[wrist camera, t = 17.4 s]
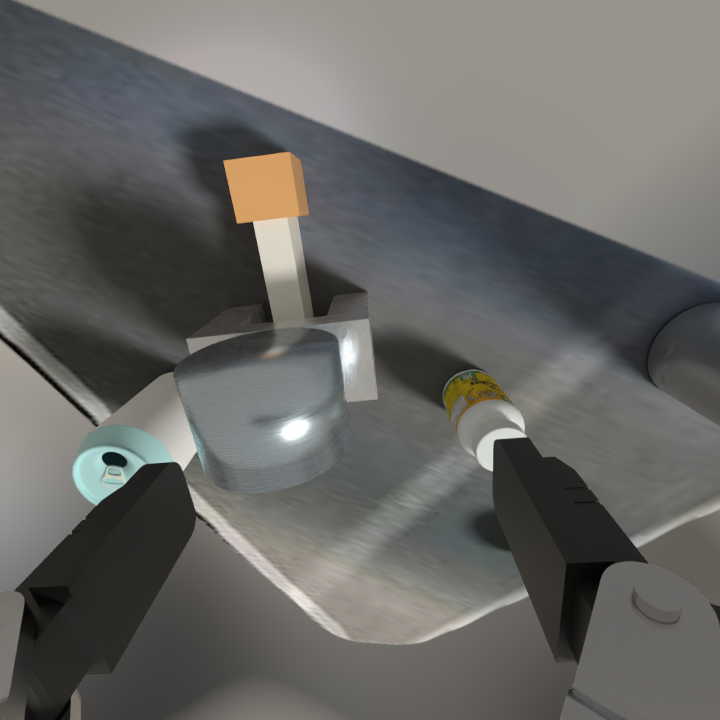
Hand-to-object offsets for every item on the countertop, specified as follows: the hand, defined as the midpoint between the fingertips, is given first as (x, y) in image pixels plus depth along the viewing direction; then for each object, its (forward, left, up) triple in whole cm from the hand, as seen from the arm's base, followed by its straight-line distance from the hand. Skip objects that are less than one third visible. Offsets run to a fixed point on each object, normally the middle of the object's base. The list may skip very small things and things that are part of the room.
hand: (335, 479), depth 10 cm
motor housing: (+5, +3, -26) cm, 26 cm away
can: (+18, +9, -26) cm, 33 cm away
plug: (+5, -1, -26) cm, 26 cm away
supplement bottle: (-10, +11, -26) cm, 30 cm away
